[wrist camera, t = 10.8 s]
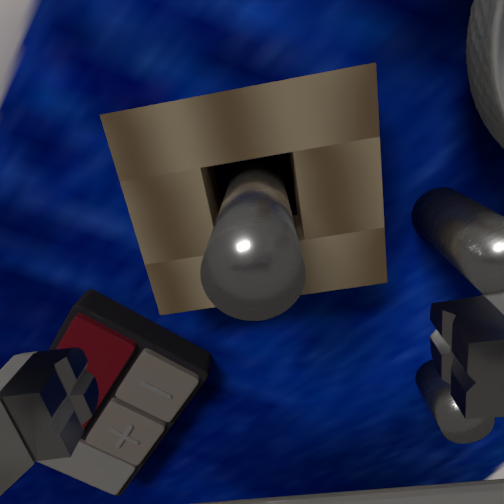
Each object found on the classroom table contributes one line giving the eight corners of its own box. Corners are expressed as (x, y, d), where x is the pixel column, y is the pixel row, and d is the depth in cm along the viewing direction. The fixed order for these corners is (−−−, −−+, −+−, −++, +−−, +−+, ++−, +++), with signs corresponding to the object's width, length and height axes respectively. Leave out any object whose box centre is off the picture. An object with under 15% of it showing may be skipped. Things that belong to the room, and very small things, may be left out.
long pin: (279, 154, 26) (298, 217, 13) (287, 206, 27) (311, 313, 14) (225, 163, 26) (189, 234, 13) (235, 215, 27) (212, 326, 14)
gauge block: (353, 68, 24) (375, 62, 19) (366, 251, 28) (387, 282, 23) (129, 110, 25) (99, 114, 20) (176, 279, 29) (160, 315, 25)
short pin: (461, 355, 31) (496, 401, 27) (460, 390, 33) (493, 440, 28) (415, 361, 31) (441, 407, 27) (415, 396, 33) (441, 446, 28)
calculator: (209, 381, 29) (116, 506, 33) (214, 347, 33) (131, 463, 37) (69, 307, 27) (-11, 451, 31) (93, 281, 31) (20, 412, 35)
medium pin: (467, 183, 26) (561, 228, 18) (464, 234, 27) (550, 298, 19) (411, 191, 26) (478, 238, 18) (411, 241, 28) (473, 306, 19)
